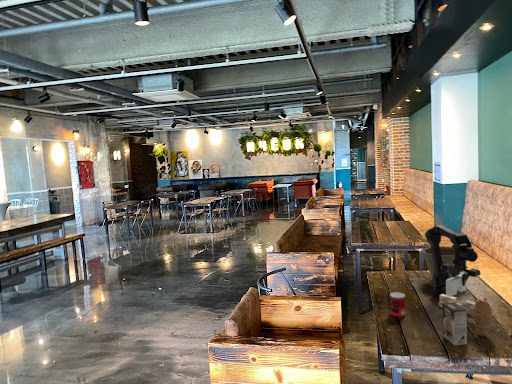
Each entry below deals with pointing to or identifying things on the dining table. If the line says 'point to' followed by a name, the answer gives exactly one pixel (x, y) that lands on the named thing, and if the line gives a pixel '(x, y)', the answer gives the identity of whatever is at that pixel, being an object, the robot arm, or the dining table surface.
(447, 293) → the slotted bar
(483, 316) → the cat ice cream
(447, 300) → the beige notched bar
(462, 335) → the coffee box
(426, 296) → the dining table surface
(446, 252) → the plant pot
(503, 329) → the dining table surface
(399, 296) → the canned food
